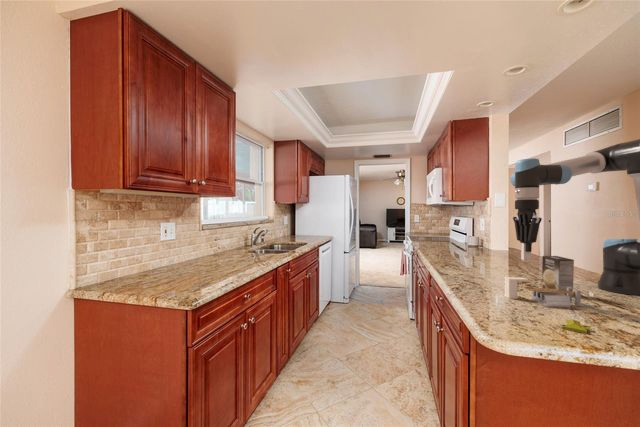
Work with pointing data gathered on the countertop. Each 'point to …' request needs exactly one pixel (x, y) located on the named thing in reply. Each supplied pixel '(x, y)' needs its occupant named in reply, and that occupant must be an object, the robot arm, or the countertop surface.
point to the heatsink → (551, 299)
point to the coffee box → (557, 273)
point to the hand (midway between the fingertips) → (526, 259)
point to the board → (578, 303)
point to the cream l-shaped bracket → (512, 286)
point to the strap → (550, 290)
